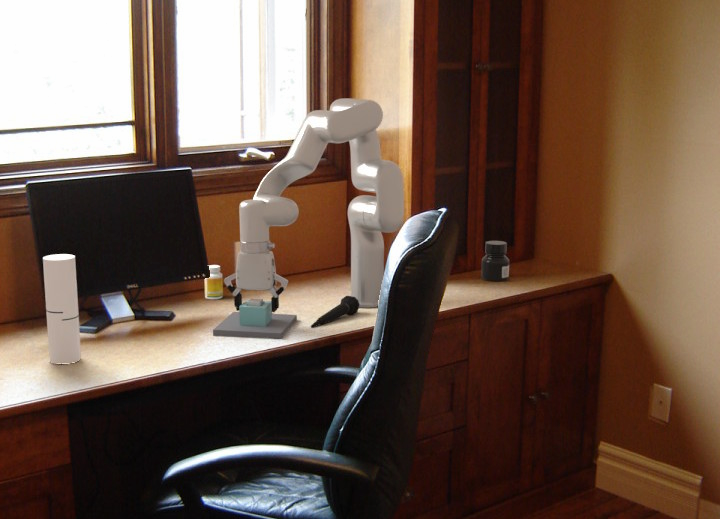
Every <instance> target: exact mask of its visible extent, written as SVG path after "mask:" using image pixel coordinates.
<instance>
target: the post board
mask: <svg viewBox="0 0 720 519" xmlns="http://www.w3.org/2000/svg"><path fill="white" fill-rule="evenodd" d="M248 300H249V301H248V306H262V305H263V301H264V299H263V298H250V299H248ZM297 320H298V316H297V314H286V313H284V314H283V313H282V314H281V313H272V320H271V321H270V322H269V323H268V324H267V325H266V326H249V325H240V320H239V311H232V312H231V313H230V314H229V315H228V316H227V317H226V318H224V320H222V321H221V322H220V323H218V325H216V326H215V327H214V328H213V330H212V336H215V337H217V336H219V337H220V336H222V337H237V338H238V337H241V338H253V339H255V338H256V339H274V340H275V339H277V340H281V339H283V337H284V336H285V335H286V334H287V332H288V331H289V330H290V329H291V327H293V326H294V324H296V322H297Z"/></svg>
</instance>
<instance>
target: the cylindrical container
mask: <svg viewBox="0 0 720 519" xmlns="http://www.w3.org/2000/svg"><path fill="white" fill-rule="evenodd" d="M42 264H43V282H44V295H45V296H44V297H45V310H46V312H45V313H46V325H47V328H46V329H47V343H48V355H49V356H48V357H49V363H50V362H52V363H61V364H62V363H72V362H76V361H78V360H80V359H81V360H82V353H81V352H82V350H81V334H80V315H79V301H78V283H77V269H76V268H77V266H76V255H73V254H68V253H59V254H57V253H55V254H50V255H49V254H48V255H45V256H43V257H42ZM81 360H80V361H81Z"/></svg>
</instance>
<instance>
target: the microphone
mask: <svg viewBox="0 0 720 519" xmlns="http://www.w3.org/2000/svg"><path fill="white" fill-rule="evenodd" d="M359 305H360V304H359V301H358V300H357V299H356V298H355V297H352V296H351V295H345V296H344V297H343V298H341V299H340V304H338V305H336V306H335V307H333V308H332V309H330V310H329V311H327V312H326V313H325V314H324V313H323V315H321V316H320V317H318V318H317V319H316V320H315V321H314V323H312V324H311V325H310V327H311V328H315V327H319V326H324V325H327V324H328V323H331V322H332V321H335V320H337V319H339V318H342V317H343V316H345V315H349V314H350V316H353V315H355V314H356V313H358V311H359V308H360V307H359Z"/></svg>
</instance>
